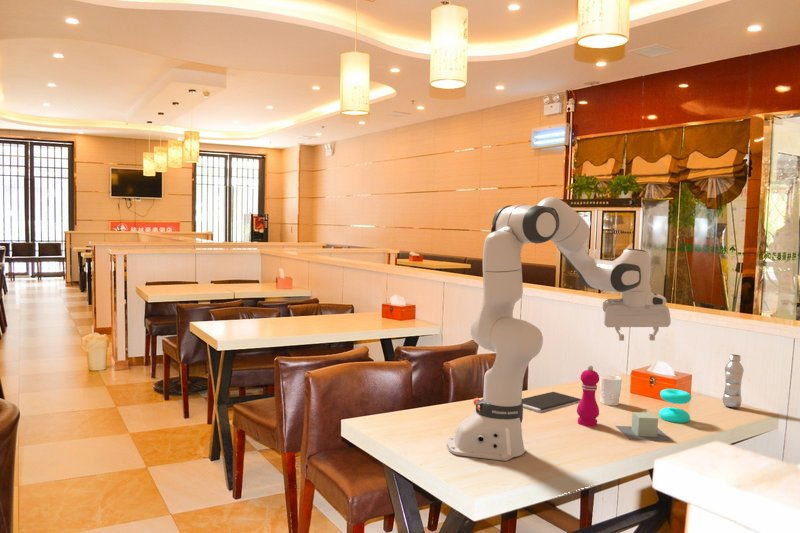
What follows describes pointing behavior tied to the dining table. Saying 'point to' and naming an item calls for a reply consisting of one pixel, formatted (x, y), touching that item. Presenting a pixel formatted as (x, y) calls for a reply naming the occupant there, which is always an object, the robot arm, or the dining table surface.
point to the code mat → (632, 436)
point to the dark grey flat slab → (548, 401)
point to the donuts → (677, 398)
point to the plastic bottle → (733, 382)
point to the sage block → (644, 424)
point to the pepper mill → (588, 399)
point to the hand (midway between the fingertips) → (636, 340)
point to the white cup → (610, 389)
